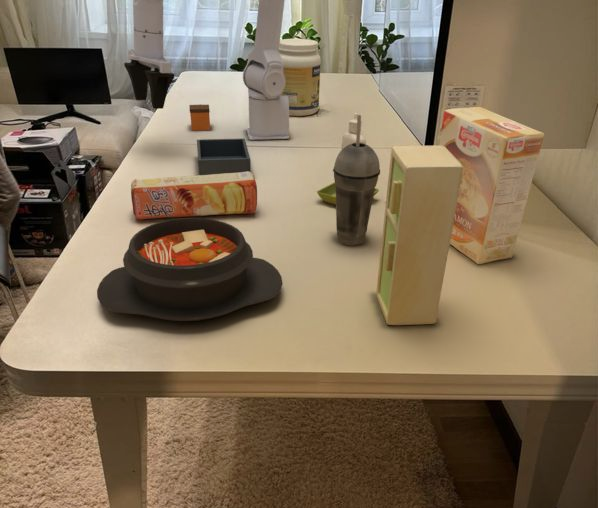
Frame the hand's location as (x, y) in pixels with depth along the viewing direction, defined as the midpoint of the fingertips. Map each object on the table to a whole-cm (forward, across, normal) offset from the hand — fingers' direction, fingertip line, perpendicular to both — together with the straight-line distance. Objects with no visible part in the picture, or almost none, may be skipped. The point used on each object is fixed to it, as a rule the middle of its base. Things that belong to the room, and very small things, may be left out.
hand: (149, 104), depth 125 cm
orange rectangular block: (+8, -10, +19) cm, 23 cm away
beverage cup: (+9, +58, +6) cm, 59 cm away
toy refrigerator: (+10, +78, -3) cm, 78 cm away
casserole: (+12, +58, -23) cm, 63 cm away
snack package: (+11, +34, -8) cm, 37 cm away
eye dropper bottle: (+7, +35, +28) cm, 45 cm away
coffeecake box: (+7, +70, +21) cm, 73 cm away
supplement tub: (+5, -9, +48) cm, 50 cm away
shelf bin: (+9, +17, +8) cm, 21 cm away
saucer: (+8, +45, +17) cm, 49 cm away
